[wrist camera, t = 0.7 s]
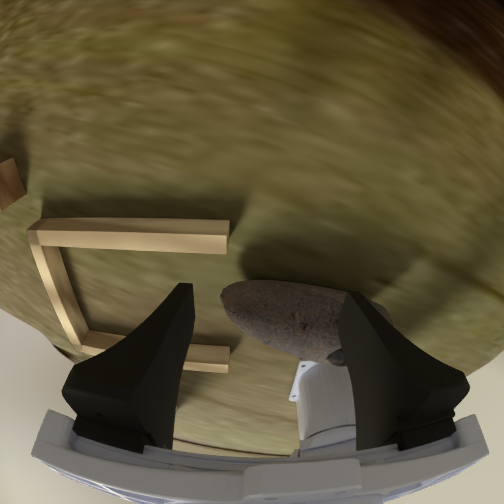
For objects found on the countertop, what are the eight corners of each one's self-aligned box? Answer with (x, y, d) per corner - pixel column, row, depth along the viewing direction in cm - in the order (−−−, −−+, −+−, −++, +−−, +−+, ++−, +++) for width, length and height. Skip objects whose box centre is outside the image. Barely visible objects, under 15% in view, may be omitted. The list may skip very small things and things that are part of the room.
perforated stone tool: (216, 295, 26) (206, 355, 20) (232, 247, 23) (224, 304, 17) (356, 328, 28) (373, 381, 22) (383, 291, 25) (409, 344, 20)
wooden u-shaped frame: (229, 355, 30) (228, 373, 28) (83, 336, 30) (75, 350, 28) (229, 220, 22) (226, 235, 20) (40, 218, 22) (25, 230, 19)
